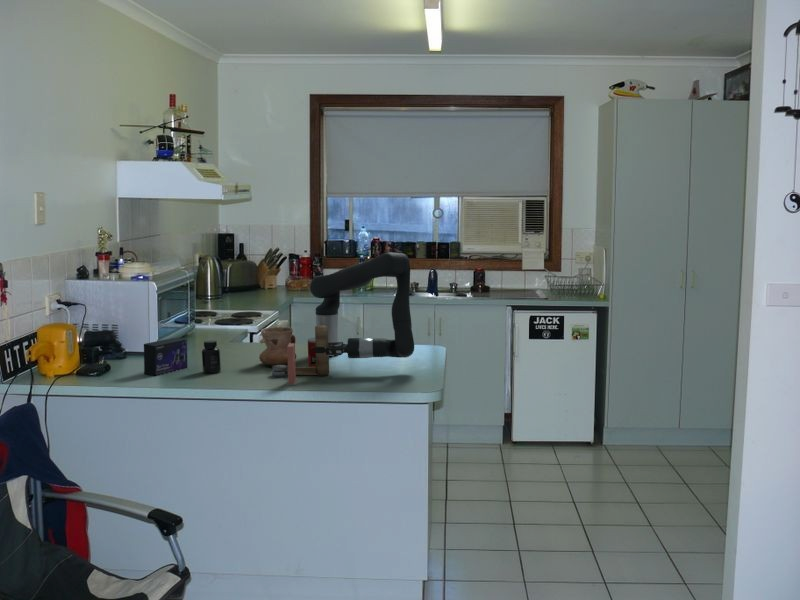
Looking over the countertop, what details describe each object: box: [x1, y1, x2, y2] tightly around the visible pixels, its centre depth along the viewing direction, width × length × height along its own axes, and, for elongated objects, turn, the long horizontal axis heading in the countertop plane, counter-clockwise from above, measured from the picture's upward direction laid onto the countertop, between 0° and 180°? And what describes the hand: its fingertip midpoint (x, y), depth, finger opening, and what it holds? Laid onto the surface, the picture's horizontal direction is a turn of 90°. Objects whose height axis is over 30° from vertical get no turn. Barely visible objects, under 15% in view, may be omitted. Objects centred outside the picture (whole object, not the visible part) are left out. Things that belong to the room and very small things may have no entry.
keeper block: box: [286, 342, 298, 387], centre depth 319 cm, size 7×3×14 cm, turn 0°
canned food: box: [307, 337, 316, 367], centre depth 347 cm, size 8×8×11 cm
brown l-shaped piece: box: [272, 325, 330, 377], centre depth 331 cm, size 5×21×18 cm, turn 90°
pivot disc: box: [271, 369, 288, 378], centre depth 332 cm, size 6×6×2 cm
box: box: [143, 336, 188, 376], centre depth 343 cm, size 17×7×12 cm, turn 149°
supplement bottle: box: [201, 339, 222, 375], centre depth 340 cm, size 7×7×12 cm
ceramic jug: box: [259, 326, 297, 367], centre depth 352 cm, size 18×14×14 cm
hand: (315, 348), depth 331 cm, fingers closed on brown l-shaped piece, 5 cm apart
